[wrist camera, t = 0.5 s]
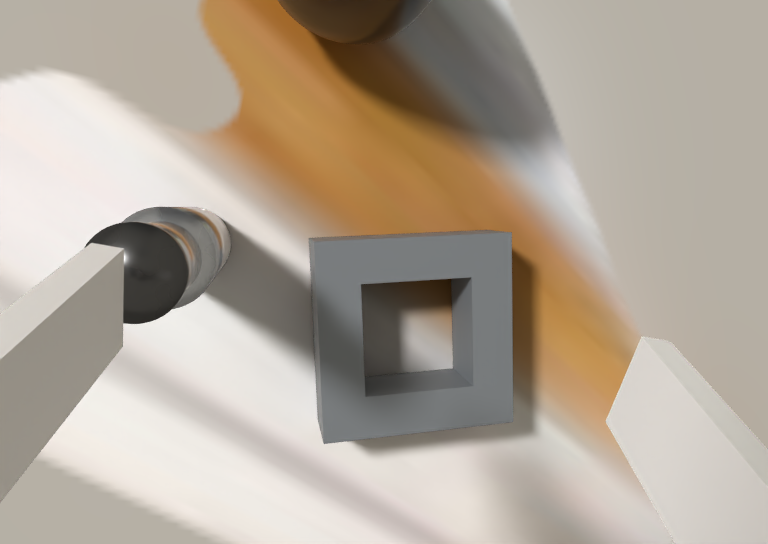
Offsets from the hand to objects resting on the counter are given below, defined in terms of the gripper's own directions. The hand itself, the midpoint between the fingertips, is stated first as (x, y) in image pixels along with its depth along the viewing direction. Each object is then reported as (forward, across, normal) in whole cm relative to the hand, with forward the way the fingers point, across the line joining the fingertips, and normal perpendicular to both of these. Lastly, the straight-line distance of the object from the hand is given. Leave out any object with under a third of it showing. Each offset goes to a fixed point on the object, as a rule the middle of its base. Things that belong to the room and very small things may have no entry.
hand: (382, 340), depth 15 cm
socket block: (+21, +4, -11) cm, 24 cm away
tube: (+20, -10, -7) cm, 24 cm away
